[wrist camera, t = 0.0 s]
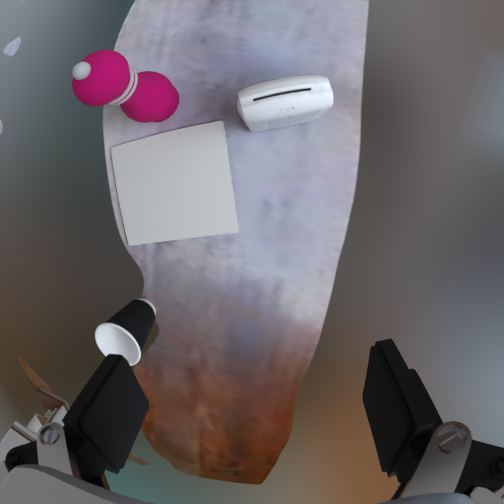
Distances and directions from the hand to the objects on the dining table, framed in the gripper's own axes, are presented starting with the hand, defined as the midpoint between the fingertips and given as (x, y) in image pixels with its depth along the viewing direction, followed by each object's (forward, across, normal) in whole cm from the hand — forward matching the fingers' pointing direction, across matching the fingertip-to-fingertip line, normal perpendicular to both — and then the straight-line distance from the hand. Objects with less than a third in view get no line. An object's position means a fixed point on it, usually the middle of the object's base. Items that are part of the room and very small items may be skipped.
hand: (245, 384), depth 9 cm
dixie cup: (+31, +23, +14) cm, 41 cm away
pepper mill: (+31, +13, -19) cm, 39 cm away
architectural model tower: (+31, +73, +51) cm, 94 cm away
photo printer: (+32, -4, -14) cm, 35 cm away
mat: (+31, +13, -6) cm, 34 cm away
